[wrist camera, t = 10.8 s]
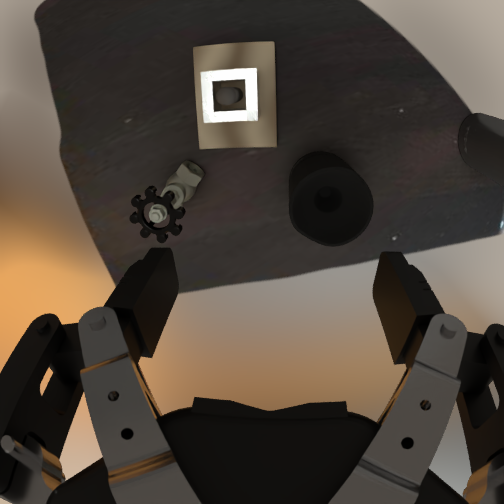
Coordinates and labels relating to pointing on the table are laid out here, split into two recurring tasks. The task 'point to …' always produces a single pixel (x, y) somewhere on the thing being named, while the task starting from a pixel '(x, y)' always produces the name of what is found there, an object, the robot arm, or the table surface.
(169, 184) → the valve
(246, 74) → the block
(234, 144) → the shaft stand
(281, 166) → the table surface
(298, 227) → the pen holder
